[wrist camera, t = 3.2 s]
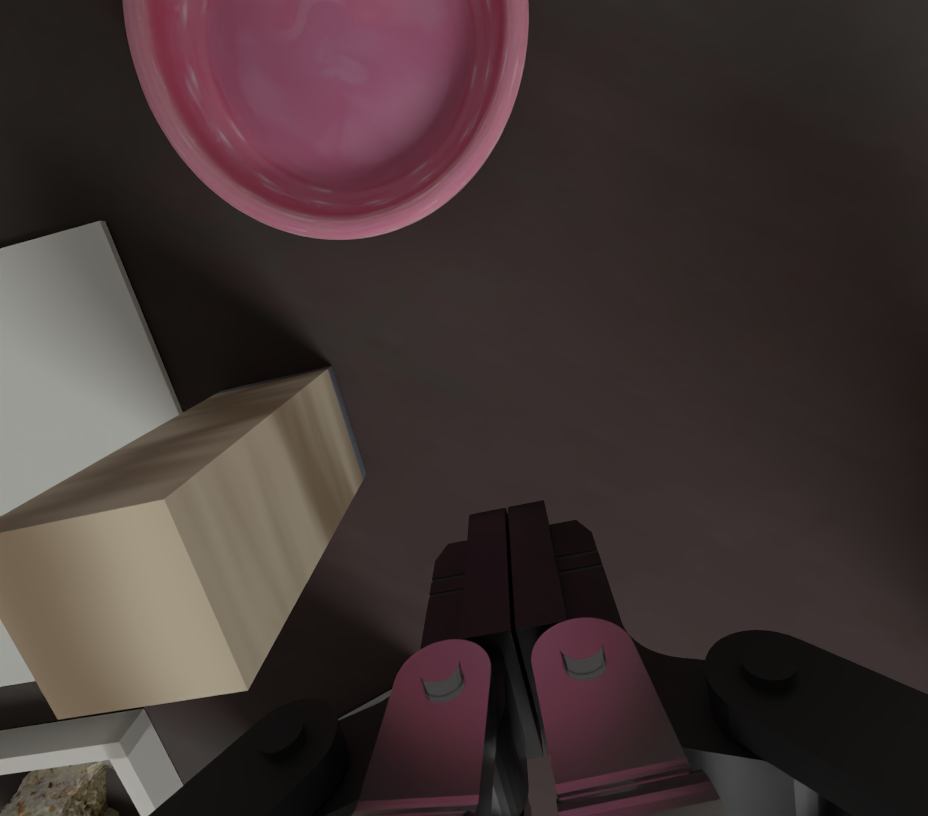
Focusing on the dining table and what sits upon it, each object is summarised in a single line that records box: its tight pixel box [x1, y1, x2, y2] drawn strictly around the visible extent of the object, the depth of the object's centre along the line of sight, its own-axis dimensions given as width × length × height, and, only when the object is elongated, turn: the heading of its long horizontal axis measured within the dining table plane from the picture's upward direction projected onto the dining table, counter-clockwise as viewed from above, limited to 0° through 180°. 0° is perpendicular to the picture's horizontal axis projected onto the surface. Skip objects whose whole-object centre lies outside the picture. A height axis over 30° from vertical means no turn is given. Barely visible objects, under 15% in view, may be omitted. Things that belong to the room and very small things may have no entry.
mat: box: [0, 221, 183, 687], centre depth 25 cm, size 16×20×1 cm
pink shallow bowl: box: [123, 0, 529, 240], centre depth 18 cm, size 12×12×3 cm
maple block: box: [0, 365, 366, 720], centre depth 18 cm, size 5×5×12 cm
